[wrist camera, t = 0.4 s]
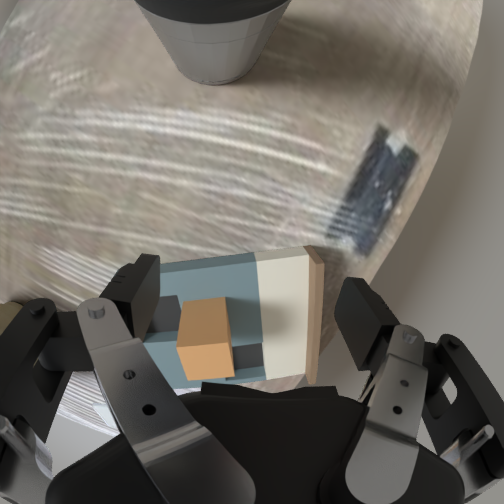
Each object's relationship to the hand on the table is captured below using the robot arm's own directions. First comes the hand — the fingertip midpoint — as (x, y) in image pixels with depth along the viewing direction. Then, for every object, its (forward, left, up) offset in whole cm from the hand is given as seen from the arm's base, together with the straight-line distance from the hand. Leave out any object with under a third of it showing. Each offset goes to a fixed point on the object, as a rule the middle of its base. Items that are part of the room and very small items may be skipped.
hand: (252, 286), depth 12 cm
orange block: (+14, -5, -18) cm, 23 cm away
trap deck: (+18, -3, -20) cm, 27 cm away
